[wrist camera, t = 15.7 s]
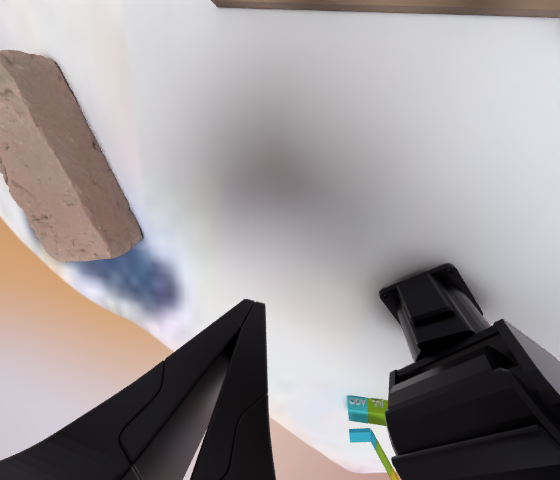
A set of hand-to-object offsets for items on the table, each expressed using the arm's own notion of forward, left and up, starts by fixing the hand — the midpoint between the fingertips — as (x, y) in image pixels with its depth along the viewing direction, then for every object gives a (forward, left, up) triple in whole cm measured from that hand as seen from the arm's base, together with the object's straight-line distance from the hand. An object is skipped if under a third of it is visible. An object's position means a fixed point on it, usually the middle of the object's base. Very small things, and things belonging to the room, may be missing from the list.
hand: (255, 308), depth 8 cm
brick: (+16, +16, -12) cm, 25 cm away
